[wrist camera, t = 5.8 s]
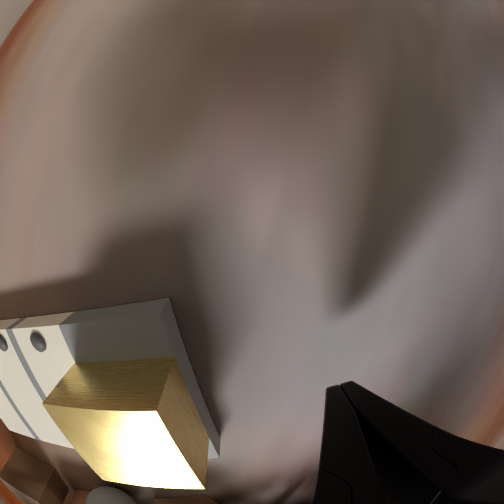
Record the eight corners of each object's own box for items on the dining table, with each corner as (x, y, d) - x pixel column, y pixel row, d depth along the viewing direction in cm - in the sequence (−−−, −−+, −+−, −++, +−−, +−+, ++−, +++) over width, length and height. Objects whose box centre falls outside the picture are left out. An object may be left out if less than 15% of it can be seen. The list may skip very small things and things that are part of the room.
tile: (174, 356, 8) (156, 411, 5) (209, 437, 9) (205, 488, 6) (75, 362, 8) (42, 403, 5) (119, 437, 9) (102, 479, 6)
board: (169, 297, 9) (159, 313, 7) (220, 438, 10) (219, 459, 9) (-35, 323, 9) (-48, 331, 7) (17, 419, 10) (8, 431, 9)
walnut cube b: (55, 467, 11) (38, 502, 7) (69, 488, 12) (56, 520, 8) (17, 446, 11) (-2, 476, 7) (33, 470, 12) (18, 498, 8)
